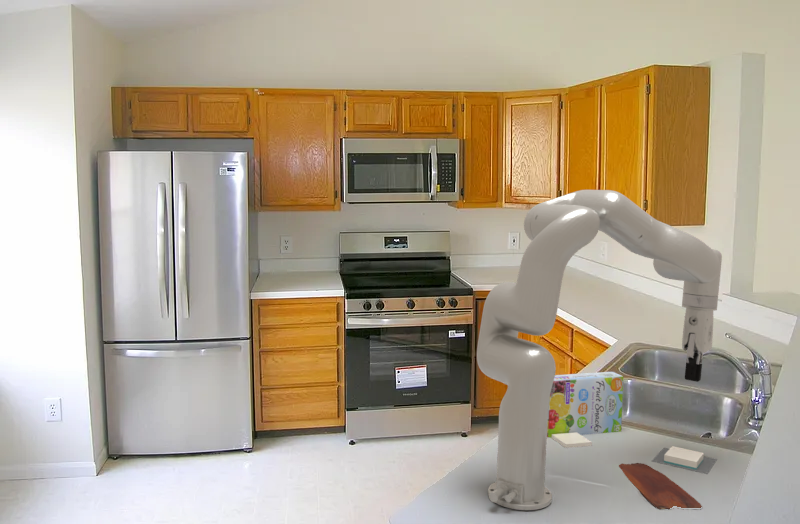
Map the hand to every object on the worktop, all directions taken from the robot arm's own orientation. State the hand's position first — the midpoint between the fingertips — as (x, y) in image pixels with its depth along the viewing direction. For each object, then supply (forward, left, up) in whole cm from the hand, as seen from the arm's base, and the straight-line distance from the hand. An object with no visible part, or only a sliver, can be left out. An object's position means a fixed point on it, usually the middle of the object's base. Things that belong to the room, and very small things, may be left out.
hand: (692, 379), depth 165 cm
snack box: (0, +26, -19) cm, 32 cm away
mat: (-4, 0, -19) cm, 19 cm away
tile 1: (-9, +25, -19) cm, 33 cm away
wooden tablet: (-21, +3, -19) cm, 28 cm away
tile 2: (-1, 0, -17) cm, 17 cm away
